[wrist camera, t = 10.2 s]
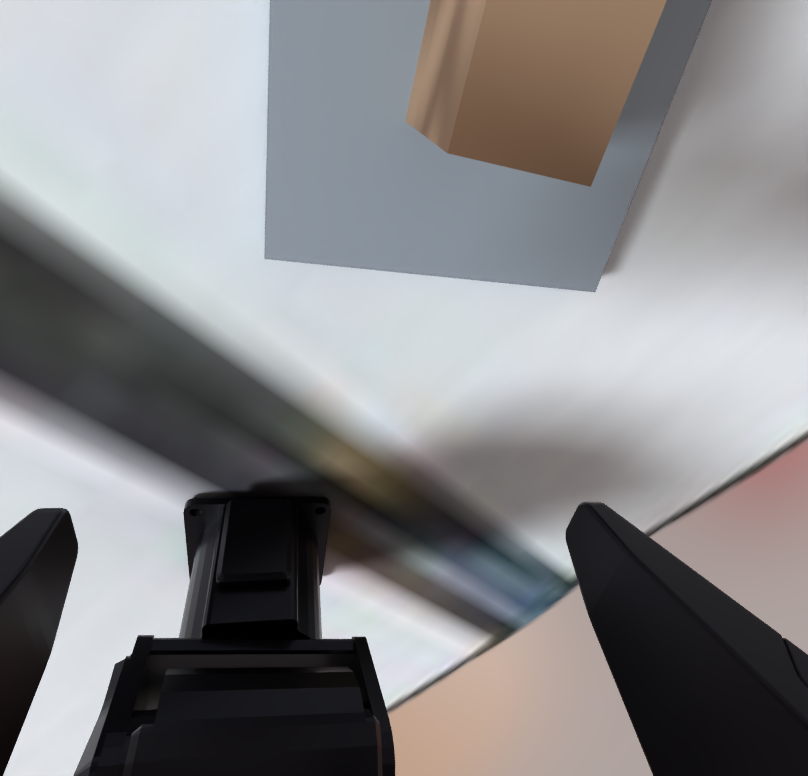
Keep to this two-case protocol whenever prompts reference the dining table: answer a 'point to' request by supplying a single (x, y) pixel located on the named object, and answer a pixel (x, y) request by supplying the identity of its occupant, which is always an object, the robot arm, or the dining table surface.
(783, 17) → the dining table surface
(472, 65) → the brown wooden block
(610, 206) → the bracket
